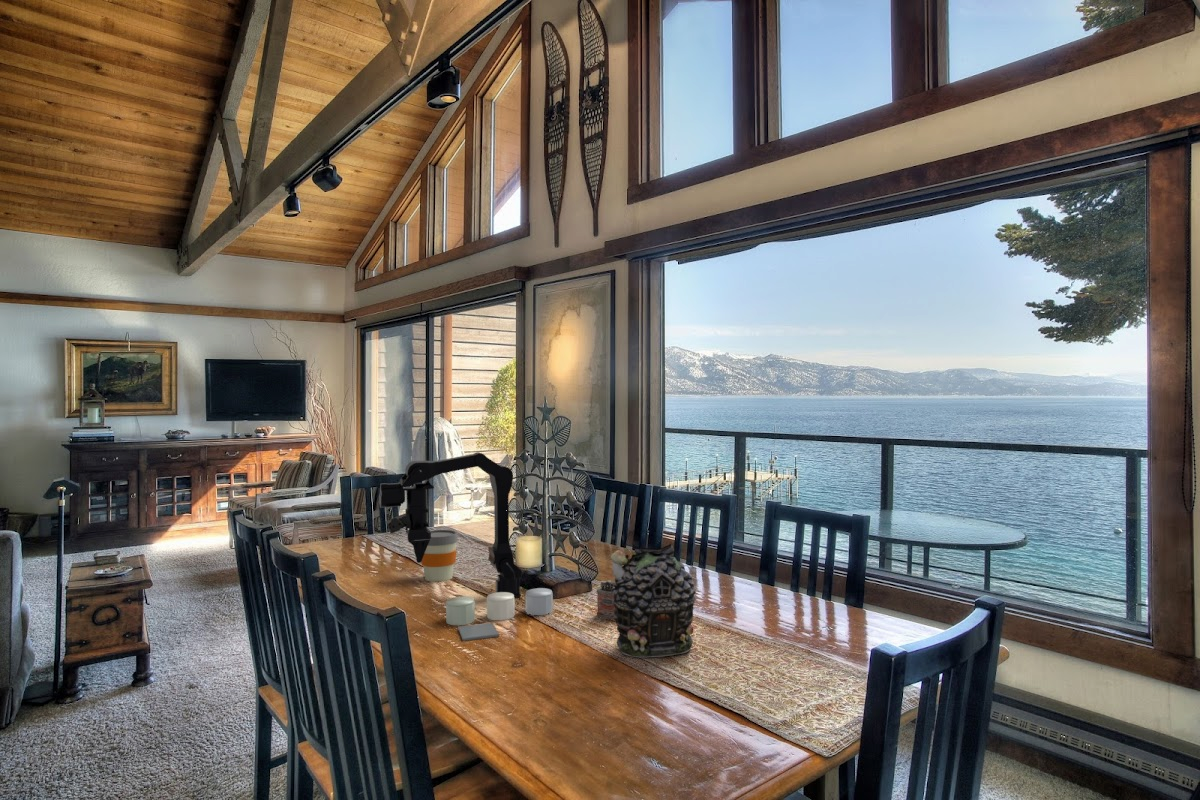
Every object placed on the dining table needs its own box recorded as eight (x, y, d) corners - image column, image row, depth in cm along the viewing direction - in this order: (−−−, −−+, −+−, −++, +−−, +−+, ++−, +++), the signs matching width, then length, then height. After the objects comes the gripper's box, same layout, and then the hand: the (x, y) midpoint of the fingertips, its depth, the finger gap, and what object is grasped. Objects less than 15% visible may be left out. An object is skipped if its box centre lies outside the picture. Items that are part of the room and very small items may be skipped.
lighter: (594, 617, 182) (594, 580, 182) (600, 613, 185) (600, 577, 185) (620, 621, 178) (620, 584, 178) (626, 617, 181) (626, 581, 181)
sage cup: (472, 614, 184) (472, 595, 184) (476, 623, 177) (476, 602, 177) (445, 618, 182) (444, 598, 182) (448, 626, 175) (448, 606, 175)
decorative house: (622, 666, 149) (621, 555, 148) (604, 642, 163) (603, 541, 163) (707, 655, 154) (707, 549, 154) (682, 633, 169) (682, 536, 168)
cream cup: (511, 610, 188) (510, 591, 188) (516, 618, 181) (516, 598, 181) (485, 613, 186) (484, 593, 186) (489, 621, 179) (489, 601, 179)
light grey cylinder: (548, 605, 192) (548, 587, 192) (555, 613, 185) (555, 594, 185) (523, 608, 189) (523, 589, 189) (529, 616, 182) (529, 597, 182)
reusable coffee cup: (416, 575, 226) (416, 531, 226) (453, 571, 231) (452, 528, 231) (423, 585, 214) (422, 538, 214) (461, 580, 220) (461, 535, 219)
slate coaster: (492, 624, 176) (492, 622, 176) (498, 636, 168) (498, 634, 168) (458, 629, 173) (458, 626, 173) (463, 641, 164) (462, 638, 164)
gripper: (387, 502, 197) (388, 554, 197) (388, 512, 180) (389, 569, 180) (425, 499, 201) (426, 550, 201) (430, 509, 183) (431, 565, 183)
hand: (418, 558), depth 191 cm, fingers open, 9 cm apart
